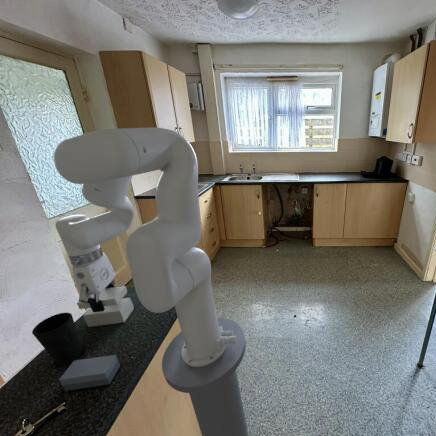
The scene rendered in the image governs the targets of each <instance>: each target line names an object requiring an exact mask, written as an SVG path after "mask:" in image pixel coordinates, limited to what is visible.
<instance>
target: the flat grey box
mask: <svg viewBox="0 0 436 436" xmlns="http://www.w3.org/2000/svg"><path fill="white" fill-rule="evenodd" d="M90 292H91V291H90ZM127 294H128V289H127V286H126V285H122V286H115V287H112V288H105V289H104V290H103V291H102V292H101V293H99V300H101V301H102V304H103V306H112V305H117V304H118V303H119V302H120V301H121V299H122V298H125V296H126V295H127ZM91 298H94V294H93V295H91ZM76 305H77V307H78V309H79V310H83V309H84V310H85V309H89V308H91V306H90V304H89V303H84V302H79V300H78V301H77V302H76Z"/></svg>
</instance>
